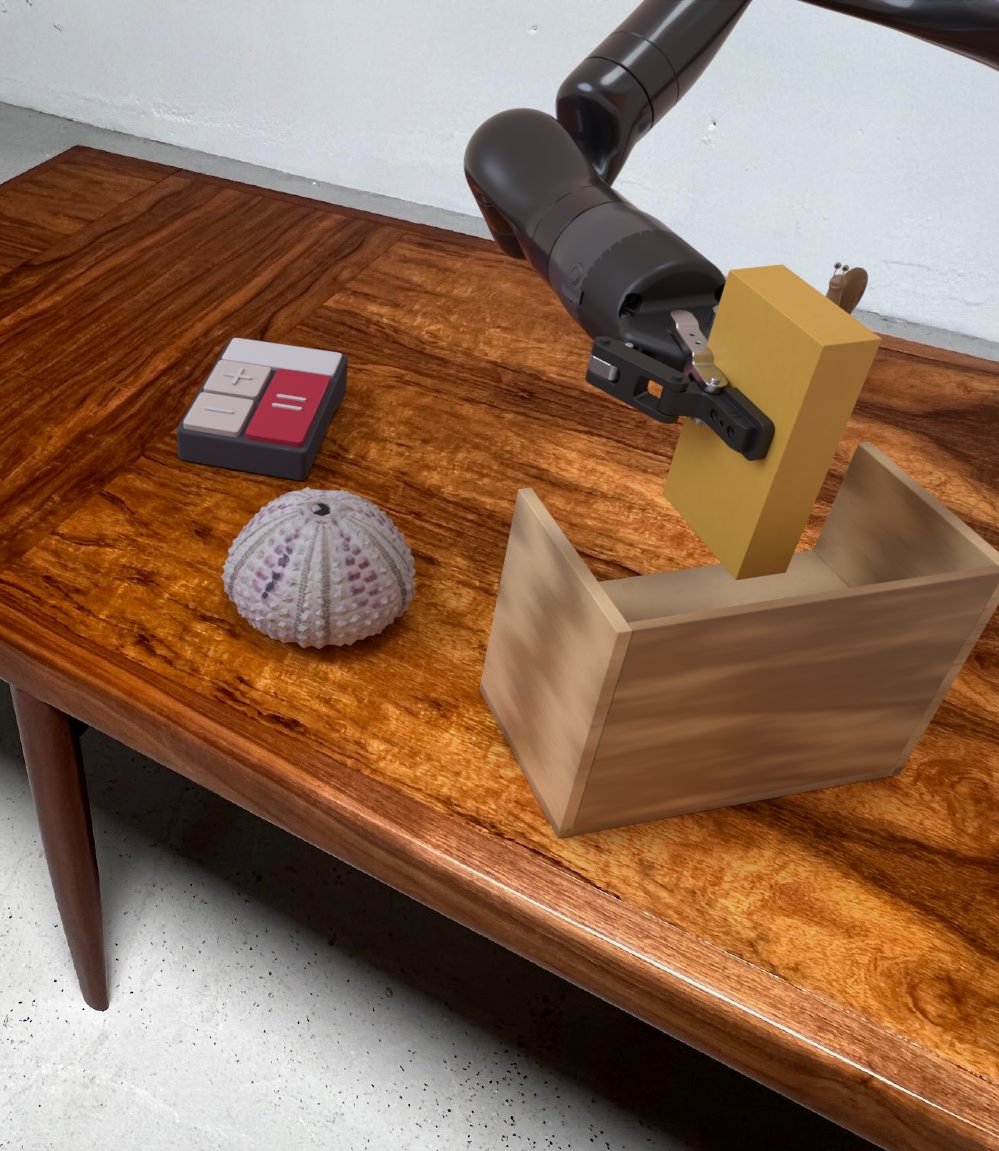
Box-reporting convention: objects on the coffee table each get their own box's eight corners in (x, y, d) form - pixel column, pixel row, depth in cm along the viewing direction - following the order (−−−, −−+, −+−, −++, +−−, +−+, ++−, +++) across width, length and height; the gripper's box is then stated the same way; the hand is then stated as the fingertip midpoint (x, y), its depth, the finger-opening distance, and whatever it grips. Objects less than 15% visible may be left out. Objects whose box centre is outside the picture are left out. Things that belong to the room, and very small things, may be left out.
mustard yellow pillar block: (735, 580, 60) (823, 345, 51) (659, 491, 66) (726, 267, 57) (786, 573, 60) (882, 338, 51) (706, 485, 66) (780, 262, 57)
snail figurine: (766, 379, 103) (809, 254, 95) (801, 355, 106) (845, 233, 98) (824, 402, 99) (873, 275, 92) (858, 377, 103) (908, 252, 95)
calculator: (174, 423, 91) (229, 329, 101) (176, 466, 94) (230, 370, 104) (306, 445, 88) (349, 346, 98) (305, 488, 91) (347, 388, 101)
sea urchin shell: (435, 653, 75) (449, 561, 70) (236, 675, 74) (235, 582, 69) (386, 533, 86) (396, 444, 80) (210, 550, 84) (208, 461, 79)
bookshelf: (478, 689, 73) (517, 488, 63) (785, 639, 76) (870, 441, 66) (557, 838, 64) (617, 632, 54) (900, 774, 67) (1019, 569, 57)
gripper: (721, 330, 72) (895, 485, 59) (515, 354, 70) (648, 519, 57) (756, 217, 67) (954, 358, 54) (535, 238, 65) (686, 391, 52)
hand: (796, 440), depth 56 cm, fingers closed on mustard yellow pillar block, 3 cm apart
